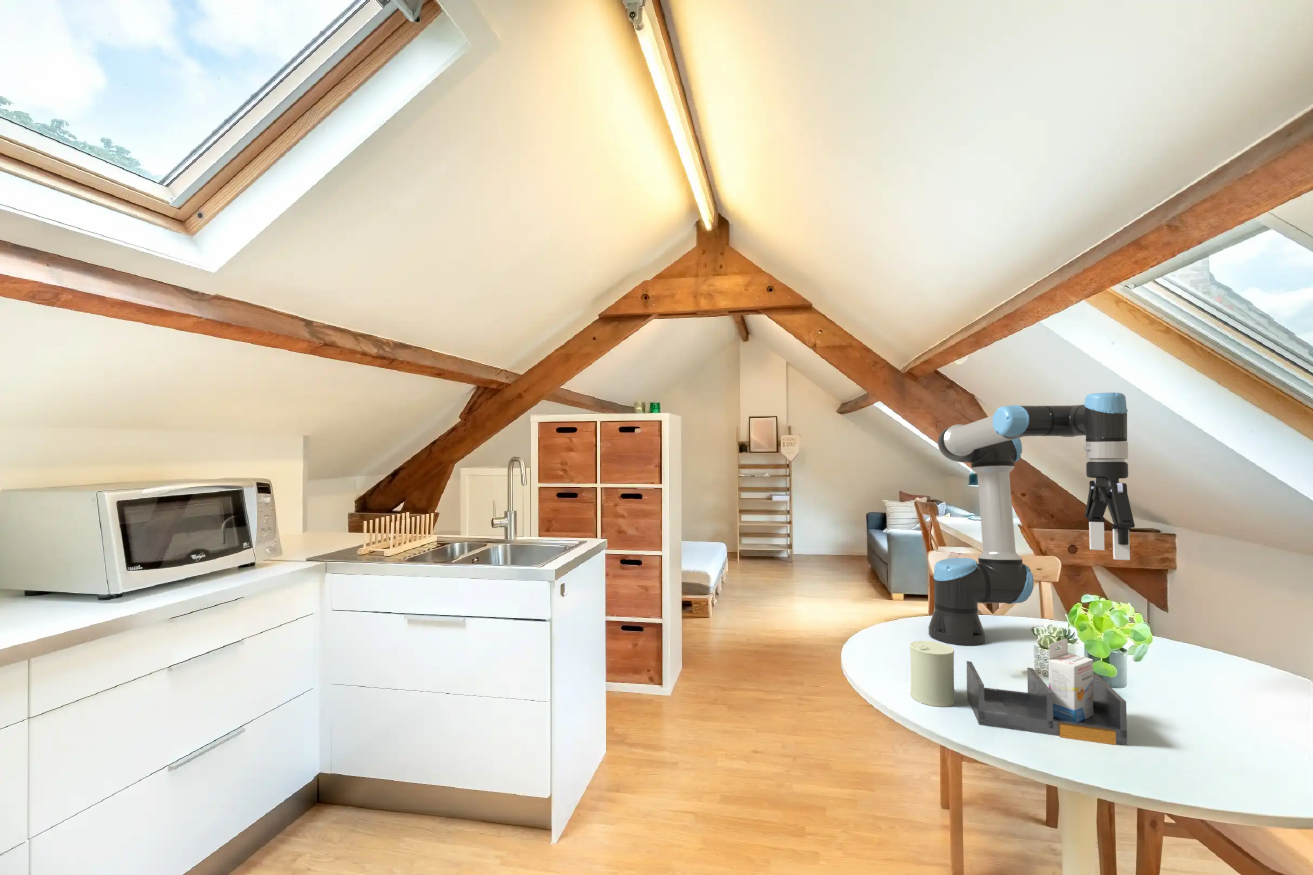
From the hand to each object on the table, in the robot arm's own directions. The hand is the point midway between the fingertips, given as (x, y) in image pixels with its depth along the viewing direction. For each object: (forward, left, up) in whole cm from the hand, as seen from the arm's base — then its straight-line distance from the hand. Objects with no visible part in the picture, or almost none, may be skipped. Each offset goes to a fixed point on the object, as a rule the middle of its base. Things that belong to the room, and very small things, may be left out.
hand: (1108, 554), depth 130 cm
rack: (+16, -18, -33) cm, 41 cm away
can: (+12, -38, -33) cm, 52 cm away
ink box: (+15, -12, -32) cm, 37 cm away
